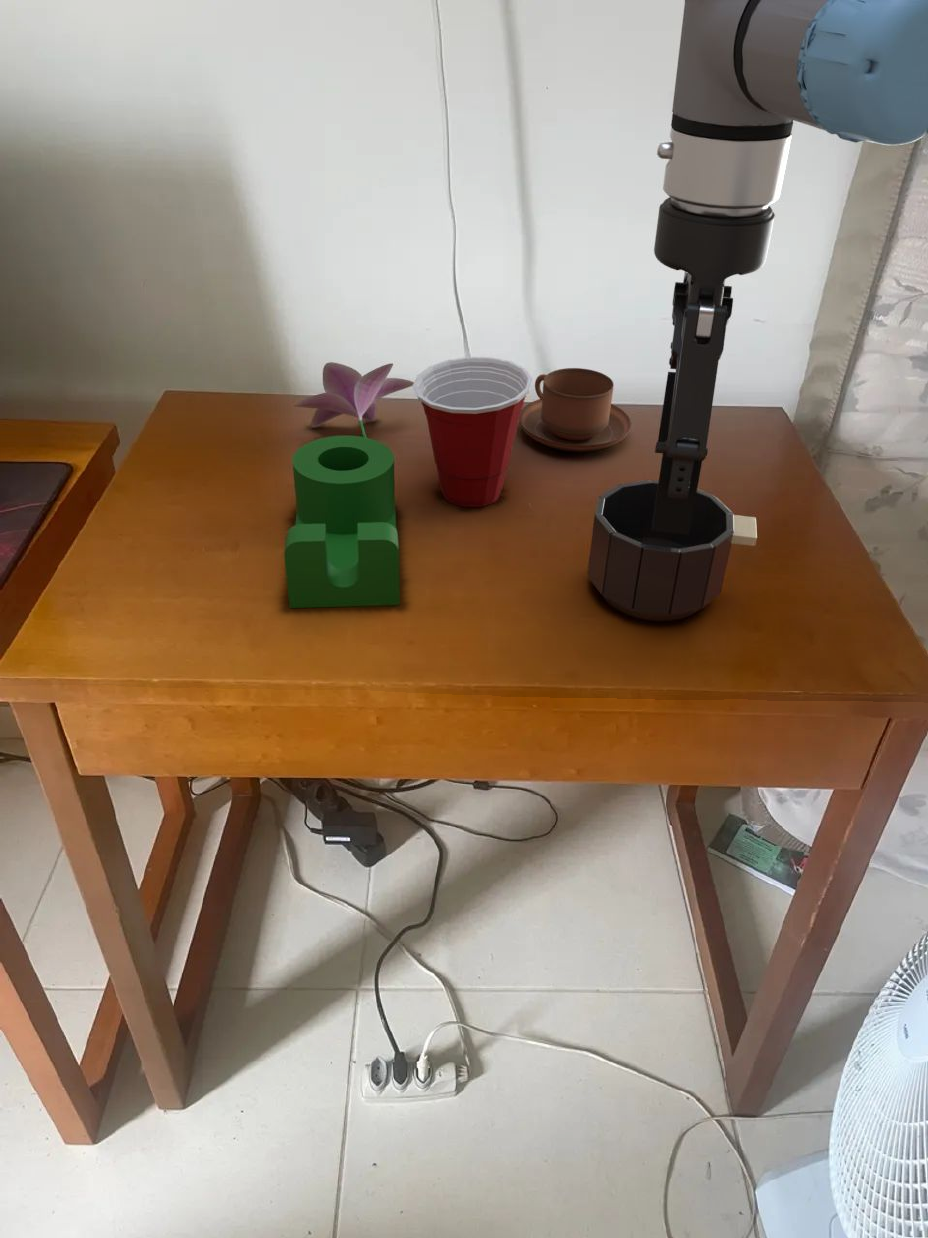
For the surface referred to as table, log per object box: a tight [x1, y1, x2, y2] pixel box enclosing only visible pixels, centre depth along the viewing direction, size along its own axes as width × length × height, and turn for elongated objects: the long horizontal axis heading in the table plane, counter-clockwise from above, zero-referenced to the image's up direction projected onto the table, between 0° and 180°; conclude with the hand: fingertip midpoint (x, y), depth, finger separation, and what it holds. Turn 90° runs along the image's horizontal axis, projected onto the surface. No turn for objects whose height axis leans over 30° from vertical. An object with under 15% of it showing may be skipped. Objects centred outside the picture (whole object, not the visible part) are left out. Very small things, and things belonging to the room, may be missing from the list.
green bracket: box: [283, 435, 401, 609], centre depth 86 cm, size 18×9×6 cm, turn 5°
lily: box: [293, 361, 415, 438], centre depth 102 cm, size 12×12×10 cm
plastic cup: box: [412, 356, 533, 508], centre depth 92 cm, size 11×11×12 cm
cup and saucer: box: [518, 367, 632, 452], centre depth 104 cm, size 12×12×6 cm
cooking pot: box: [586, 479, 758, 615], centre depth 81 cm, size 13×11×6 cm
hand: (671, 487), depth 77 cm, fingers open, 13 cm apart
